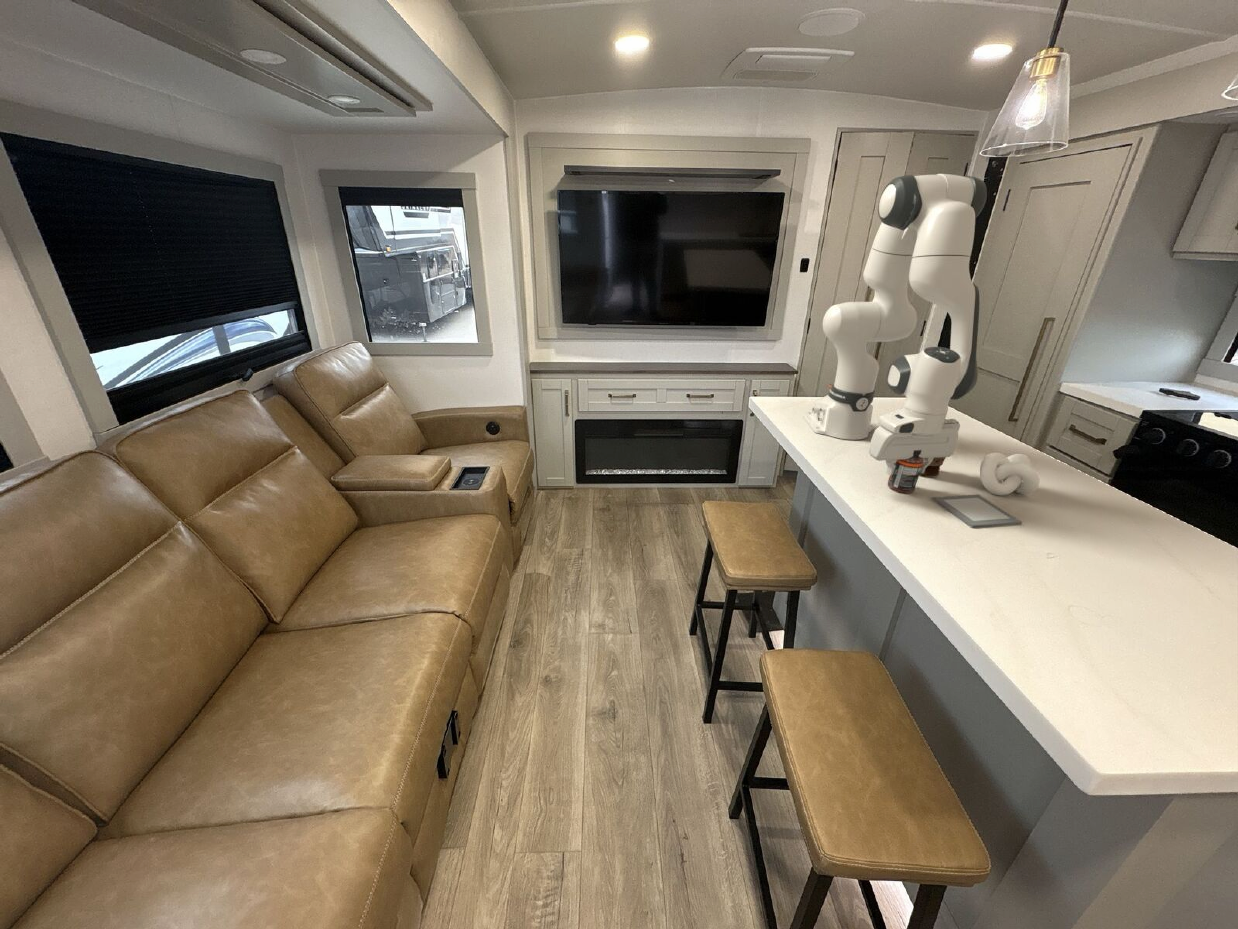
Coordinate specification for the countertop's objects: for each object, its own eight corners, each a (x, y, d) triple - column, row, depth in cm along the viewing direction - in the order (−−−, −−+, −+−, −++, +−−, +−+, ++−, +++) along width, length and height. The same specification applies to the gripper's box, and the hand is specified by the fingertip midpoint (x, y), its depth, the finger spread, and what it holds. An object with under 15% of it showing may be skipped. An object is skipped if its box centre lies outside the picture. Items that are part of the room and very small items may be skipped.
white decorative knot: (969, 473, 127) (981, 442, 123) (1025, 484, 122) (1039, 452, 118) (973, 492, 118) (986, 459, 114) (1034, 505, 113) (1050, 471, 109)
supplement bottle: (887, 480, 123) (899, 439, 118) (913, 485, 121) (927, 444, 116) (886, 490, 118) (899, 448, 113) (914, 496, 116) (928, 453, 111)
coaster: (932, 499, 115) (933, 497, 114) (977, 496, 116) (978, 494, 116) (971, 527, 104) (972, 525, 104) (1021, 524, 106) (1022, 521, 105)
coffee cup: (948, 482, 123) (965, 434, 117) (913, 478, 124) (928, 431, 118) (935, 467, 130) (951, 421, 125) (902, 463, 132) (916, 419, 126)
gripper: (951, 413, 116) (934, 465, 122) (872, 417, 113) (858, 469, 119) (972, 423, 110) (952, 477, 116) (889, 427, 107) (874, 481, 114)
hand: (904, 473), depth 118 cm, fingers closed on supplement bottle, 6 cm apart
